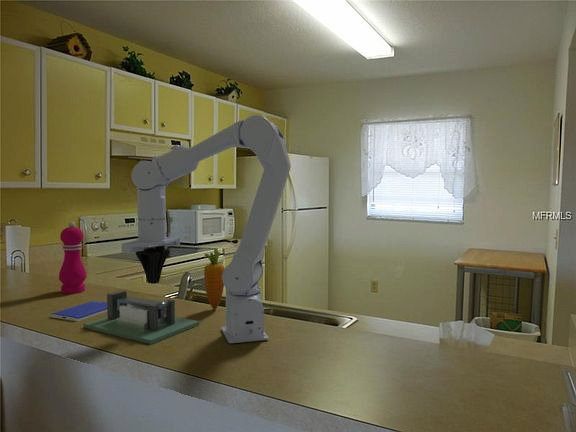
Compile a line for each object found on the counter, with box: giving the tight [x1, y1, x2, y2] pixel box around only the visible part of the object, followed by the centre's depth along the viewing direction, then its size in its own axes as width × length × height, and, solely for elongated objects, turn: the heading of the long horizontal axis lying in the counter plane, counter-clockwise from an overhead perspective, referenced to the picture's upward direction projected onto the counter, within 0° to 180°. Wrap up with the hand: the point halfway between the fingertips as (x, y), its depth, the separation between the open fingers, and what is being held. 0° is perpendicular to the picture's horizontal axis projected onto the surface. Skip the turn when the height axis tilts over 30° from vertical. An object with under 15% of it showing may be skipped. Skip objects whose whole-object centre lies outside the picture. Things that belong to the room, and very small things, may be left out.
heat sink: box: [117, 304, 167, 332], centre depth 96 cm, size 8×8×4 cm
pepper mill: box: [58, 221, 88, 295], centre depth 127 cm, size 7×7×20 cm
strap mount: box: [106, 289, 176, 331], centre depth 97 cm, size 15×6×6 cm, turn 61°
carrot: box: [203, 248, 226, 310], centre depth 110 cm, size 5×5×15 cm
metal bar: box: [117, 295, 170, 310], centre depth 96 cm, size 13×3×3 cm, turn 61°
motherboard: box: [82, 316, 200, 345], centre depth 96 cm, size 20×14×1 cm
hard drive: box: [50, 300, 107, 322], centre depth 107 cm, size 2×8×12 cm
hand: (153, 282), depth 95 cm, fingers closed
